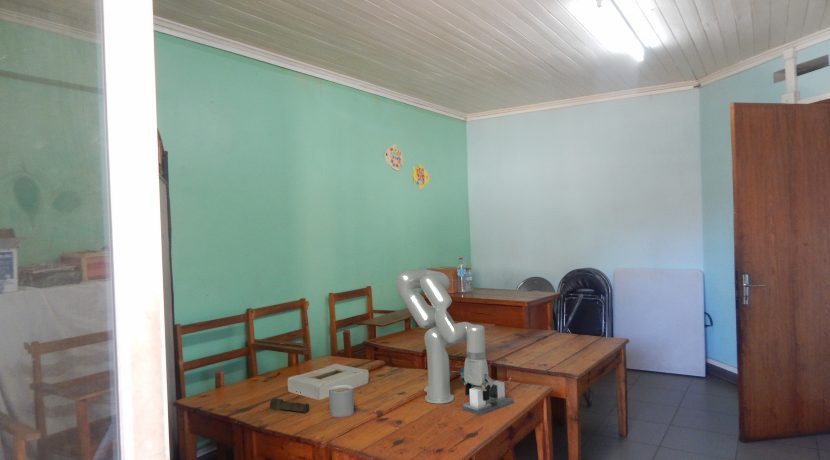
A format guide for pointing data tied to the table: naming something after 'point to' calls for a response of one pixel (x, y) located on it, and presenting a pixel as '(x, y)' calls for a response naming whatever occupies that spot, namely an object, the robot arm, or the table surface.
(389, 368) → the table surface
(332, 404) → the coffee mug
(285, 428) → the table surface
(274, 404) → the hand tool
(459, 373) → the gear
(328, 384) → the box
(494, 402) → the rail
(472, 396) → the block
